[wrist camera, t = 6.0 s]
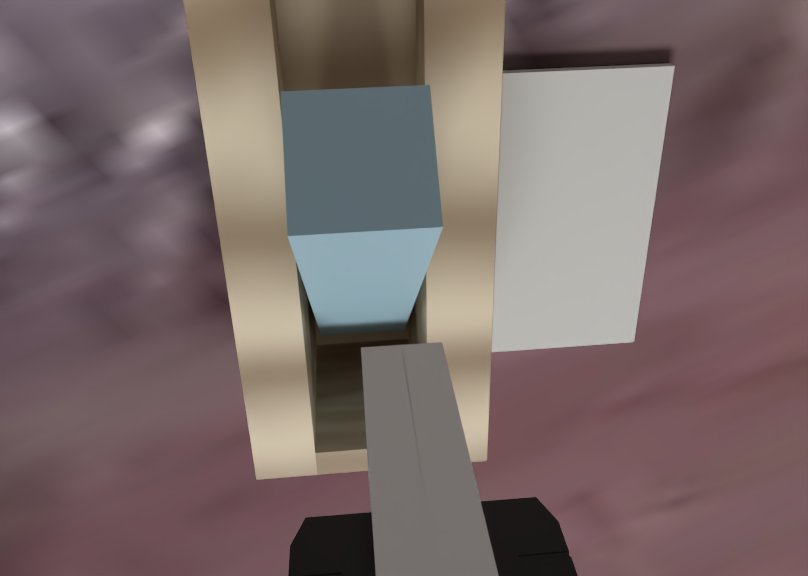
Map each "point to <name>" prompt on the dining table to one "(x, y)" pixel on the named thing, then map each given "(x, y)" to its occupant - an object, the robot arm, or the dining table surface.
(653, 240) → the dining table surface
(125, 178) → the dining table surface
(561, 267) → the mat
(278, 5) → the jig
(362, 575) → the robot arm
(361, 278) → the bar
